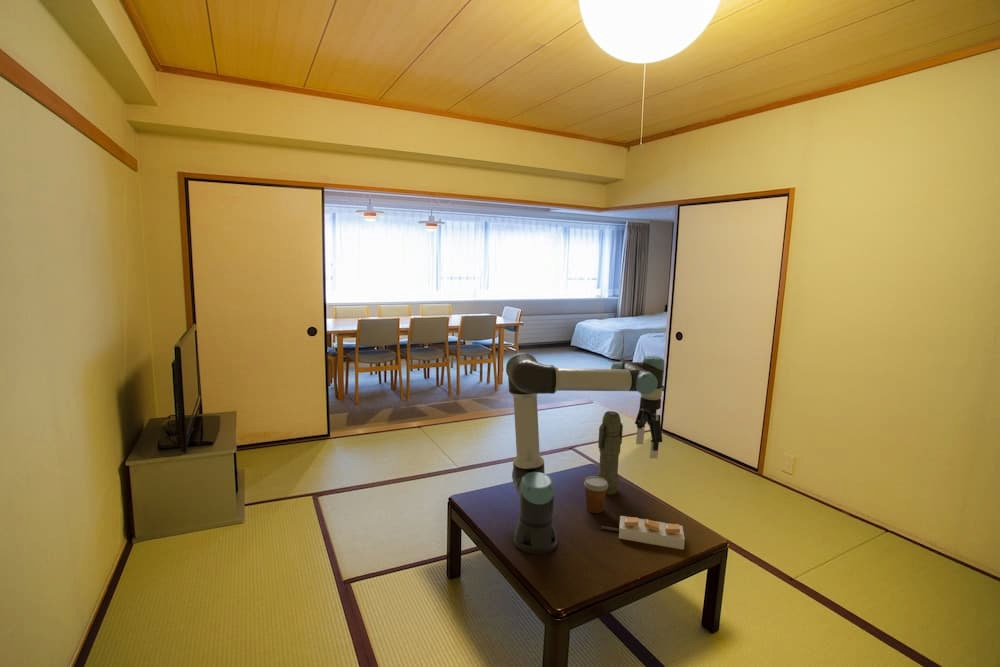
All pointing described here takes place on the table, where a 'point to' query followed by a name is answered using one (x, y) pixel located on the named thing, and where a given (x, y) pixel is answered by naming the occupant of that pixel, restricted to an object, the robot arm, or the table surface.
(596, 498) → the disposable coffee cup
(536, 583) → the table surface
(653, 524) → the orange block
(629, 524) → the orange block
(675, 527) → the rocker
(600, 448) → the stone tower
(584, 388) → the robot arm
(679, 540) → the power strip
